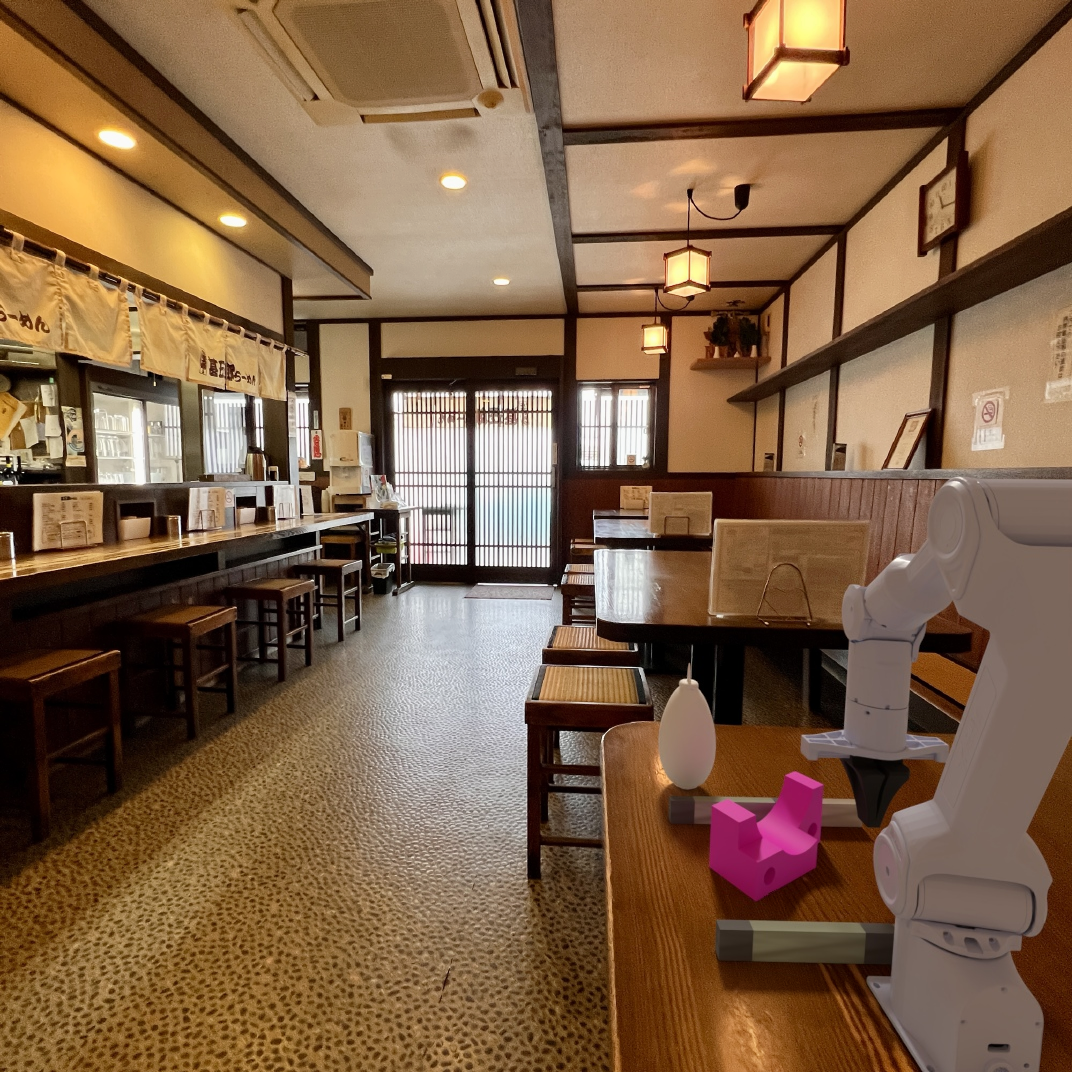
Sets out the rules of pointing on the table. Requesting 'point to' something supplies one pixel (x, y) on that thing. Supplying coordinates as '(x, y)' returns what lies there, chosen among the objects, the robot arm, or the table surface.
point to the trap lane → (791, 936)
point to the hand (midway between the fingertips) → (868, 822)
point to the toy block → (768, 838)
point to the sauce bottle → (687, 736)
